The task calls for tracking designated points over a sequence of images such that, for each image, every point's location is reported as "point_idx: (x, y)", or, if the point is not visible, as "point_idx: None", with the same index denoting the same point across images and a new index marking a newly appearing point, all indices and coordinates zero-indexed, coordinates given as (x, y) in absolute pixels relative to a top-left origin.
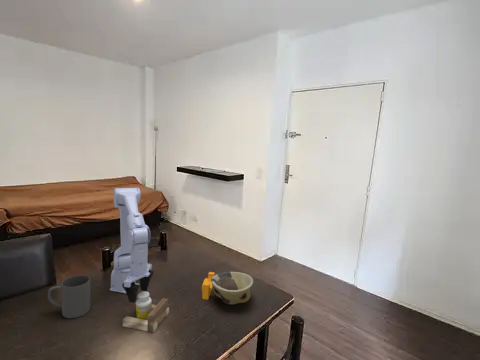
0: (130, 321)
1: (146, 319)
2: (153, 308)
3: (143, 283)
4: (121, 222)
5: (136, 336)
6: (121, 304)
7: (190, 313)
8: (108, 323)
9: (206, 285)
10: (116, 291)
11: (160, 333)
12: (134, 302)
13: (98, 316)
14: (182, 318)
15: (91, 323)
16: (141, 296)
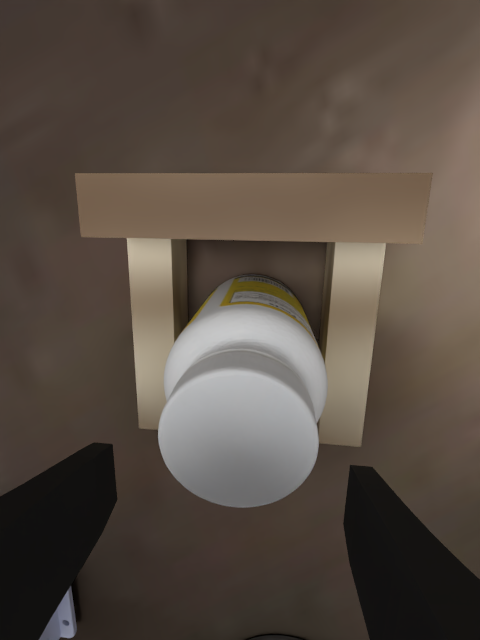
0: (367, 387)
1: (293, 295)
2: (173, 301)
3: (46, 566)
4: None
5: (431, 288)
6: (160, 518)
7: (80, 2)
8: (342, 501)
9: None
10: (72, 597)
11: (372, 134)
12: (371, 467)
13: (296, 574)
14: (161, 43)
15: None
16: (293, 445)
